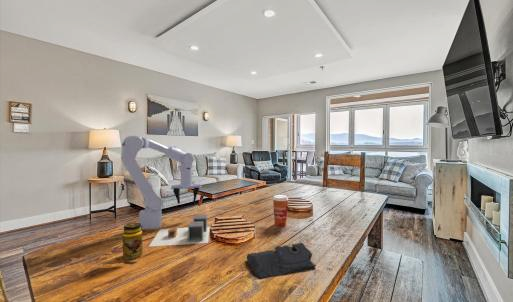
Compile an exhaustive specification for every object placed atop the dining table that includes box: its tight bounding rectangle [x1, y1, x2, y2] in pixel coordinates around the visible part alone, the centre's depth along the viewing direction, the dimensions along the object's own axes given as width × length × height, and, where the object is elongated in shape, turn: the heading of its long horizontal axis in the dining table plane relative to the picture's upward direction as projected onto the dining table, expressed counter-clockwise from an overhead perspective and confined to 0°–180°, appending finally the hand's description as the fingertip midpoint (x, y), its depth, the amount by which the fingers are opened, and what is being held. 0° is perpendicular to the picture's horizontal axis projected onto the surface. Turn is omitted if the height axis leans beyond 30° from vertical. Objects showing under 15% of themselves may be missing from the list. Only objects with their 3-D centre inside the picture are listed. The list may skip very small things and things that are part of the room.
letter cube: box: [168, 227, 178, 238], centre depth 98 cm, size 3×3×3 cm
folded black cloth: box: [246, 242, 317, 280], centre depth 79 cm, size 15×22×5 cm
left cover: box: [187, 221, 204, 241], centre depth 96 cm, size 6×6×6 cm
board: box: [148, 225, 211, 248], centre depth 99 cm, size 22×18×1 cm
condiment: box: [122, 221, 144, 265], centre depth 82 cm, size 7×8×12 cm
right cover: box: [193, 213, 208, 232], centre depth 105 cm, size 6×6×6 cm
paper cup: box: [272, 194, 289, 228], centre depth 115 cm, size 8×8×14 cm
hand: (186, 202), depth 119 cm, fingers open, 7 cm apart
